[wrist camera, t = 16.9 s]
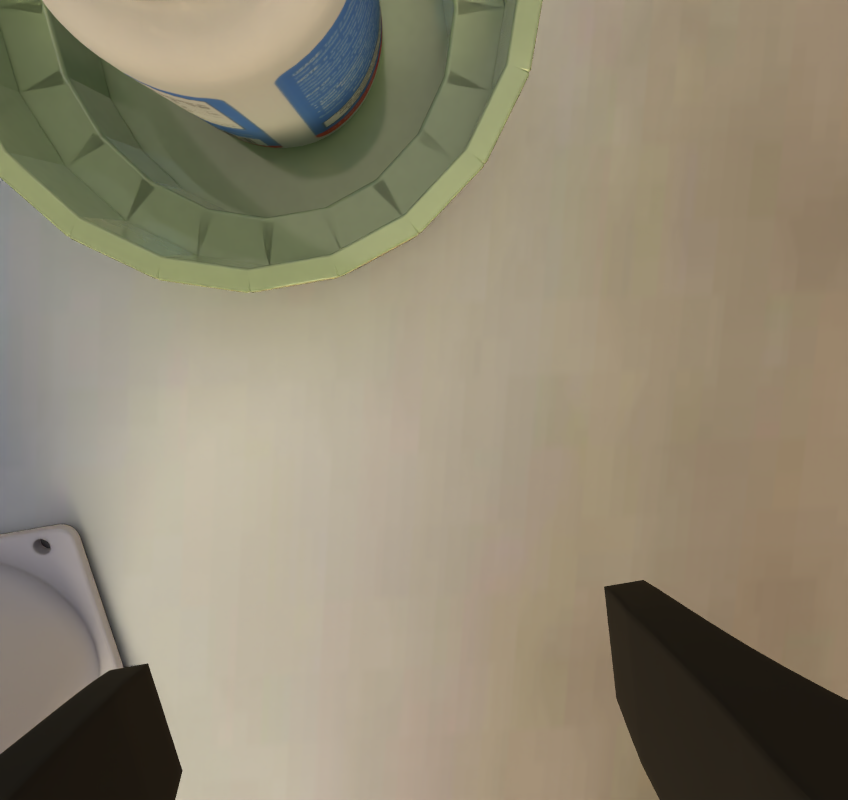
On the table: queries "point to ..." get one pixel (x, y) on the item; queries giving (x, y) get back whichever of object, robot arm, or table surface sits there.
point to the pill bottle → (241, 59)
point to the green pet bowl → (258, 150)
